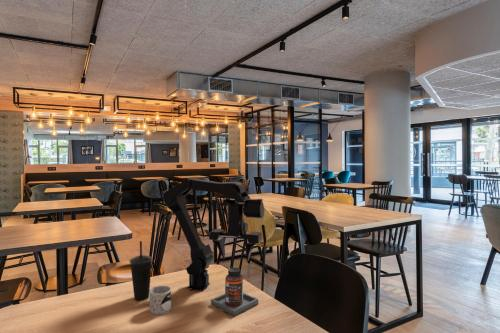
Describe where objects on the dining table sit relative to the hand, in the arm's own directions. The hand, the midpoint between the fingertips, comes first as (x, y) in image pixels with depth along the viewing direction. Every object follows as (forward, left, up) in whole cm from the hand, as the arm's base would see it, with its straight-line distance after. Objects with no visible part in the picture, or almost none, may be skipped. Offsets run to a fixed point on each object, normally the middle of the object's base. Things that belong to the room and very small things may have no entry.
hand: (235, 259), depth 116 cm
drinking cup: (-30, -14, -12) cm, 35 cm away
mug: (-19, -18, -12) cm, 29 cm away
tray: (+3, -10, -12) cm, 16 cm away
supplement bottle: (+3, -10, -12) cm, 15 cm away
